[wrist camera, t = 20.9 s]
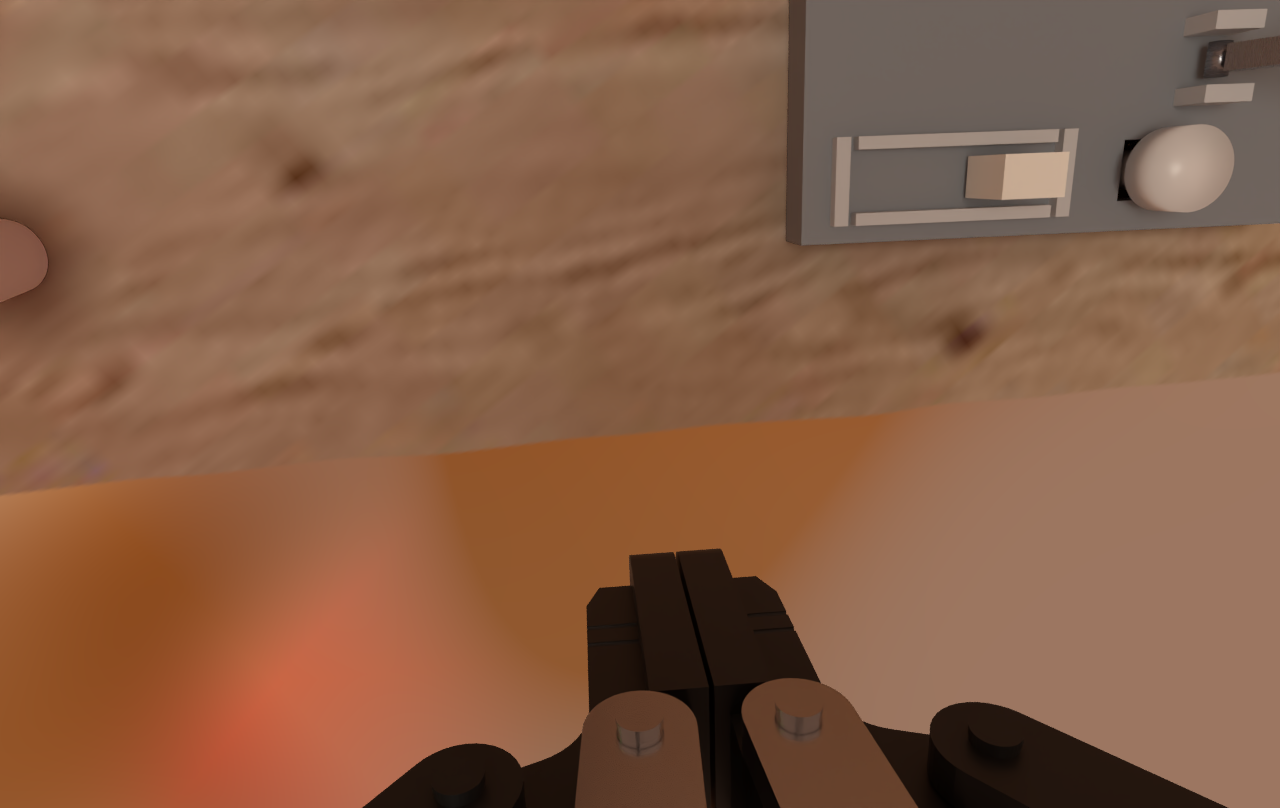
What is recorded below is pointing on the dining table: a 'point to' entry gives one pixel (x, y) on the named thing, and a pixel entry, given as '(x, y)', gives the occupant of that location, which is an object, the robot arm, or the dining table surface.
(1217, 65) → the toggle lever
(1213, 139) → the push button
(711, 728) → the robot arm
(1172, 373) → the dining table surface
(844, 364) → the dining table surface
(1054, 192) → the slider knob
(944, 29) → the panel
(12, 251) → the smoothie
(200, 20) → the dining table surface
